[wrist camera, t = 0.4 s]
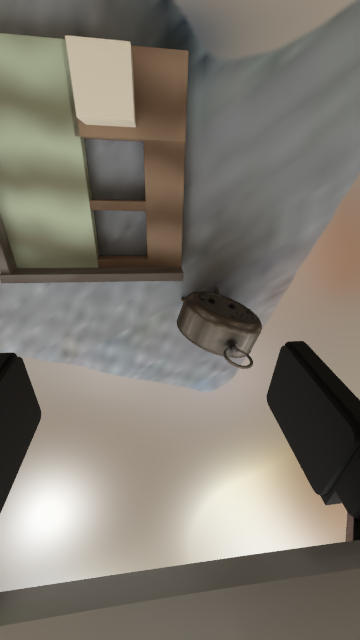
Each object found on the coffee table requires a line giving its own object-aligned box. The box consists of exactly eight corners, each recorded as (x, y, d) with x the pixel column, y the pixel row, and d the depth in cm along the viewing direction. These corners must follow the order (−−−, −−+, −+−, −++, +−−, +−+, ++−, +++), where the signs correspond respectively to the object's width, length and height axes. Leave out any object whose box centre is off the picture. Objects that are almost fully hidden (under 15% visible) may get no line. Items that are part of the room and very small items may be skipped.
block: (77, 55, 23) (65, 35, 19) (132, 60, 23) (130, 41, 20) (85, 124, 25) (76, 117, 22) (135, 127, 26) (134, 120, 22)
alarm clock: (171, 305, 39) (185, 378, 25) (182, 274, 37) (205, 335, 23) (232, 321, 42) (275, 394, 28) (247, 292, 40) (301, 357, 26)
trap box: (-55, 37, 23) (-96, 9, 19) (185, 59, 25) (192, 38, 21) (18, 270, 34) (1, 283, 30) (179, 269, 36) (183, 280, 32)
